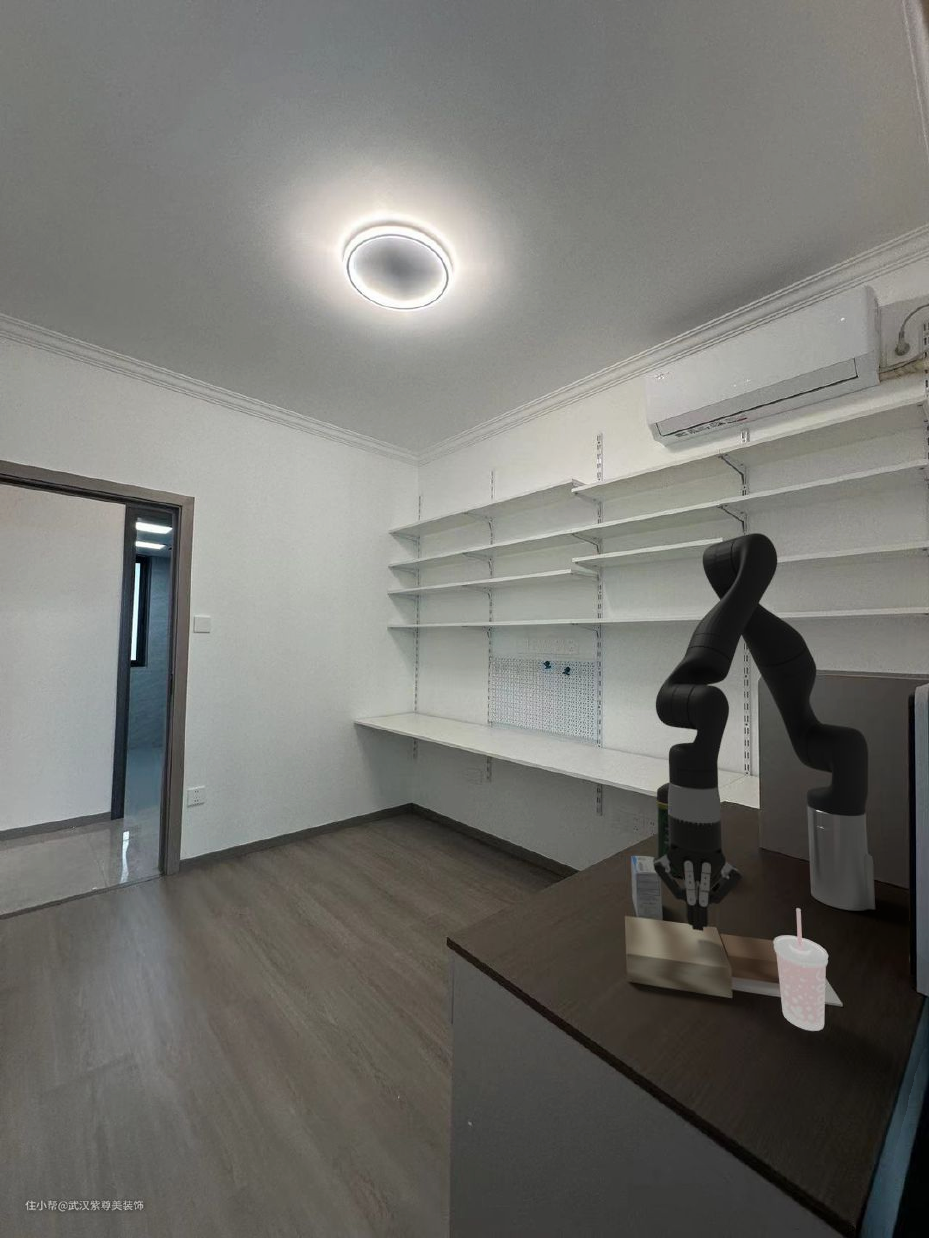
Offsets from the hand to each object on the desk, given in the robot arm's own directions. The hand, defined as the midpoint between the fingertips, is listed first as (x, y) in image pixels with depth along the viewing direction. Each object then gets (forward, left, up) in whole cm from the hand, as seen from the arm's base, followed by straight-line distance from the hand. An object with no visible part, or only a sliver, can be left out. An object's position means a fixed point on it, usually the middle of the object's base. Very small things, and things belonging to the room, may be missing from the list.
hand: (696, 927), depth 80 cm
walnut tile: (-8, -1, -6) cm, 10 cm away
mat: (-10, 0, -6) cm, 12 cm away
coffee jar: (-1, -36, -6) cm, 37 cm away
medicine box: (+7, -16, -6) cm, 18 cm away
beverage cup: (-12, +8, -6) cm, 15 cm away
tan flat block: (+4, +1, -6) cm, 7 cm away
